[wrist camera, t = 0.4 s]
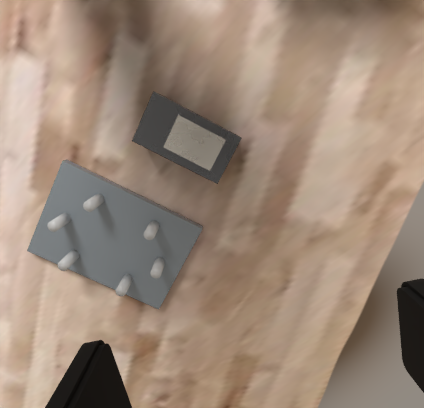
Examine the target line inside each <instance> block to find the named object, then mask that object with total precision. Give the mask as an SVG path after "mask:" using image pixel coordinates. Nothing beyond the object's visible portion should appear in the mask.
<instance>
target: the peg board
mask: <svg viewBox="0 0 424 408" xmlns="http://www.w3.org/2000/svg"><path fill="white" fill-rule="evenodd" d="M202 229H203V226H202V225H200V224H197V223H195V222H193V221H191V220H189V219H187V218H185V217H183V216H181V215H179V214H177V213H175V212H173V211H171V210H169V209H167V208H165V207H163V206H161V205H159V204H157V203H155V202H153V201H151V200H148V199H146V198H144V197H142V196H140V195H138V194H136V193H134V192H132V191H130V190H128V189H126V188H124V187H122V186H120V185H118V184H116V183H114V182H112V181H110V180H108V179H106V178H104V177H101V176H99V175H97V174H95V173H93V172H91V171H89V170H87V169H85V168H83V167H81V166H79V165H77V164H75V163H73V162H71V161H69V160H63V161H62V164H61V166H60V169H59V171H58V174H57V176H56V179H55V181H54V184H53V187H52V189H51V192H50V194H49V197H48V199H47V202H46V204H45V207H44V209H43V212H42V214H41V217H40V220H39V222H38V225H37V227H36V230H35V232H34V235H33V237H32V240H31V242H30V245H29V247H28V250H27V251H29V252H31V253H33V254H35V255H38V256H40V257H42V258H44V259H47V260H49V261H51V262H53V263H56V264H58V268H59V269H60V270H62V271H65V270H67V269H69V270H71V271H74V272H76V273H78V274H80V275H83V276H85V277H87V278H89V279H92V280H94V281H96V282H98V283H101V284H103V285H105V286H107V287H110V288H112V289H114V290H116V294H117V295H119V296H124V295H128V296H130V297H132V298H134V299H137V300H139V301H141V302H143V303H146V304H148V305H150V306H152V307H155V308H157V309H159V308H160V306H161V304H162V303H163V301H164V299H165V297H166V295H167V293H168V292H169V290H170V288H171V286H172V284H173V282H174V281H175V279H176V277H177V275H178V273H179V271H180V269H181V268H182V266H183V264H184V262H185V260H186V258H187V257H188V255H189V253H190V251H191V249H192V247H193V246H194V244H195V242H196V240H197V238H198V236H199V234H200V233H201V231H202Z"/></svg>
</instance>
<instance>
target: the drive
mask: <svg viewBox="0 0 424 408" xmlns="http://www.w3.org/2000/svg"><path fill="white" fill-rule="evenodd" d="M240 140H241V137H239V136H238V135H236V134H234V133H232V132H230V131H228V130H227V129H225V128H223V127H221V126H219V125H217V124H215V123H213V122H211V121H209V120H208V119H206V118H204V117H202V116H200V115H198V114H196V113H194V112H192V111H191V110H189V109H187V108H185V107H183V106H181V105H179V104H177V103H175V102H174V101H172V100H170V99H168V98H166V97H164V96H162V95H160V94H158V93H156V92H153V94H152V96H151V98H150V101H149V103H148V105H147V108H146V110H145V112H144V114H143V117H142V119H141V121H140V124H139V126H138V128H137V130H136V133H135V135H134V137H133V140H132V141H133V142H135V143H137V144H139V145H141V146H143V147H145V148H147V149H149V150H151V151H153V152H155V153H157V154H159V155H161V156H163V157H165V158H167V159H169V160H171V161H173V162H175V163H177V164H179V165H181V166H183V167H185V168H187V169H189V170H191V171H193V172H195V173H197V174H199V175H201V176H203V177H205V178H207V179H209V180H211V181H213V182H215V183H217V184H218V182H219V180H220V178H221V176H222V174H223V172H224V171H225V169H226V167H227V165H228V163H229V161H230V159H231V157H232V155H233V153H234V151H235V150H236V148H237V146H238V144H239V142H240Z"/></svg>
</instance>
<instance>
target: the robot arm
mask: <svg viewBox="0 0 424 408" xmlns="http://www.w3.org/2000/svg"><path fill="white" fill-rule="evenodd" d="M397 299H398V312H399V323H400V335H401V348H402V359H403V363H404V366H405V368H406V370H407V372H408V373H409V374H410V376H411V377H412V378H413V380H414V381H415V382H416V383H417V385H418V386H419V387H420V388H421V390H422V391H423V392H424V279H417V280H412V281H407V282H403V284H402V286H401V288H398V290H397ZM45 408H132V406H131V403H130V401H129V398H128V395H127V392H126V389H125V387H124V384H123V381H122V378H121V375H120V373H119V370H118V367H117V364H116V361H115V359H114V356H113V353H112V350H111V347H110V345H109V344H105V343H104V342H103V341H102V340H99V341H93V342H88V343H84V344H83V345H82V346H81V348H80V349H79V351H78V353H77V355H76V356H75V358H74V360H73V361H72V363H71V365H70V366H69V368H68V370H67V371H66V373H65V375H64V377H63V378H62V380H61V382H60V383H59V385H58V387H57V388H56V390H55V392H54V394H53V395H52V397H51V399H50V400H49V402H48V404H47V405H46V407H45Z"/></svg>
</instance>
